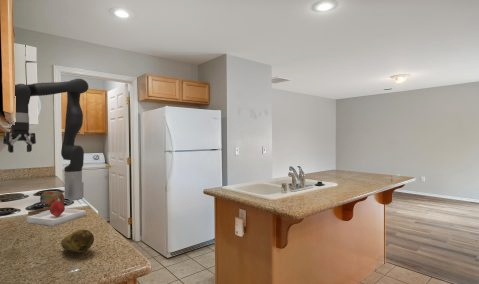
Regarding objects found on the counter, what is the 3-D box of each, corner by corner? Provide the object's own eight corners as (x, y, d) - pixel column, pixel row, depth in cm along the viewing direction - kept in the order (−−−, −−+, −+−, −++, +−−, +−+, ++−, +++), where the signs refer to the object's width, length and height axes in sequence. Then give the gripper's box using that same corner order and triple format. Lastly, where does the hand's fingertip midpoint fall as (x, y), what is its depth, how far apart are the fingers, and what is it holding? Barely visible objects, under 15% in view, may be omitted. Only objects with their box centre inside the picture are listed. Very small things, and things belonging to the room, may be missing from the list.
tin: (39, 205, 146) (39, 190, 146) (45, 204, 149) (45, 189, 149) (60, 207, 142) (60, 192, 142) (65, 206, 145) (65, 191, 145)
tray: (61, 213, 131) (61, 208, 131) (85, 215, 127) (85, 210, 127) (26, 222, 116) (26, 216, 116) (53, 226, 111) (53, 220, 111)
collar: (49, 209, 138) (49, 206, 138) (64, 211, 135) (64, 208, 135) (28, 214, 128) (28, 211, 128) (43, 216, 125) (43, 213, 125)
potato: (88, 243, 92) (88, 221, 92) (96, 256, 82) (96, 230, 82) (60, 249, 87) (60, 225, 87) (64, 264, 77) (64, 237, 77)
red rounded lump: (46, 217, 120) (46, 200, 120) (60, 214, 126) (60, 197, 125) (54, 219, 118) (54, 201, 118) (67, 215, 123) (67, 198, 123)
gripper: (9, 120, 132) (9, 152, 132) (38, 122, 146) (39, 151, 146) (-1, 121, 134) (-1, 152, 135) (29, 122, 148) (29, 151, 148)
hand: (20, 152), depth 140 cm, fingers open, 8 cm apart
